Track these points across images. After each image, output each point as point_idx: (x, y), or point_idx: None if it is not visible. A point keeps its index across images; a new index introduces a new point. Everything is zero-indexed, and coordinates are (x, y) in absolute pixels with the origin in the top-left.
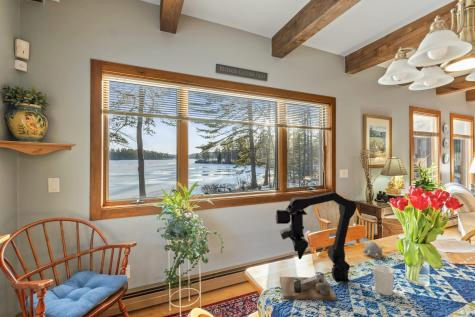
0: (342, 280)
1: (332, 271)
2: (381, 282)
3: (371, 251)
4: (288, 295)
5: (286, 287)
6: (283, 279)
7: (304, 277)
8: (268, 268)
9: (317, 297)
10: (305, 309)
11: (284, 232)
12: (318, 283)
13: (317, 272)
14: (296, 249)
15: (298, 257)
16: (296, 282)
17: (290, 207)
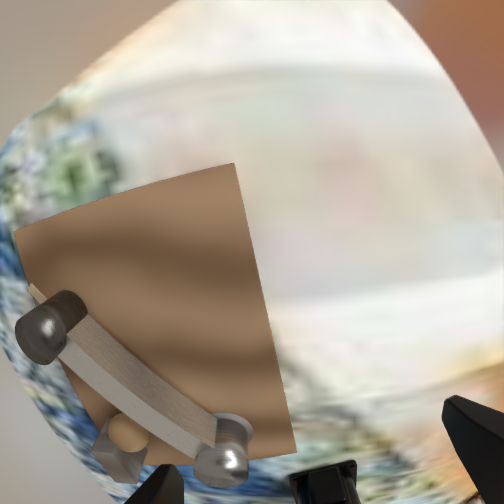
0: (296, 492)
1: (331, 489)
2: None
3: None
4: (21, 257)
5: (86, 237)
6: (192, 201)
7: (274, 359)
8: (388, 68)
9: (81, 398)
10: (4, 329)
11: None
12: (124, 444)
13: (237, 467)
14: (455, 432)
15: (154, 476)
16: (16, 332)
17: None
